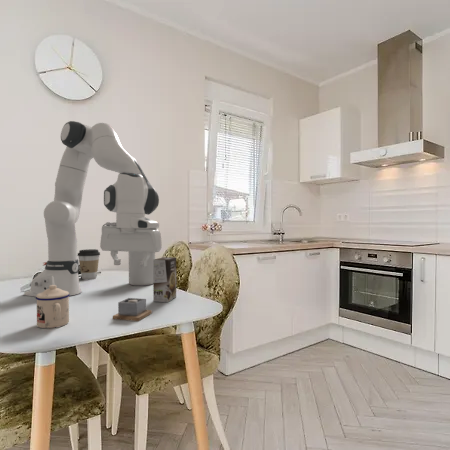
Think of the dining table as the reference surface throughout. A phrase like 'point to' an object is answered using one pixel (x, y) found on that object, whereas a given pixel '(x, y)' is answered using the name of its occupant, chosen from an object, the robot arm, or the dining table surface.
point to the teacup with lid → (52, 308)
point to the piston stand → (133, 318)
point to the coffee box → (164, 279)
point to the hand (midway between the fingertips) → (130, 265)
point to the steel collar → (131, 307)
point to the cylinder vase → (140, 269)
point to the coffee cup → (88, 263)
